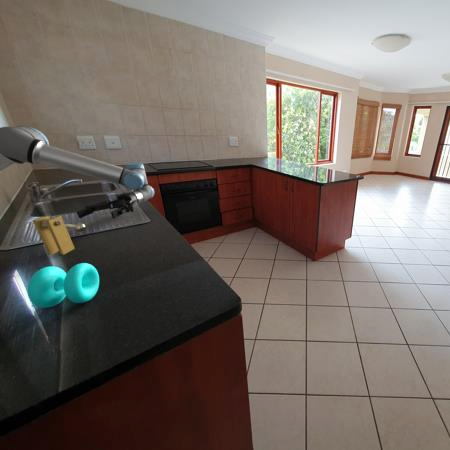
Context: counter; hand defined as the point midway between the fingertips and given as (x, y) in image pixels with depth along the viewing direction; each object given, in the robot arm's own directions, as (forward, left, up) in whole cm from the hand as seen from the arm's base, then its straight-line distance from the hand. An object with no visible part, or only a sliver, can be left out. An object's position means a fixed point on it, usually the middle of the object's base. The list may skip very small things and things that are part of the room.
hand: (95, 215), depth 95 cm
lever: (-4, -13, 0) cm, 14 cm away
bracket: (-5, -17, -8) cm, 19 cm away
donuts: (+10, -46, -8) cm, 47 cm away
